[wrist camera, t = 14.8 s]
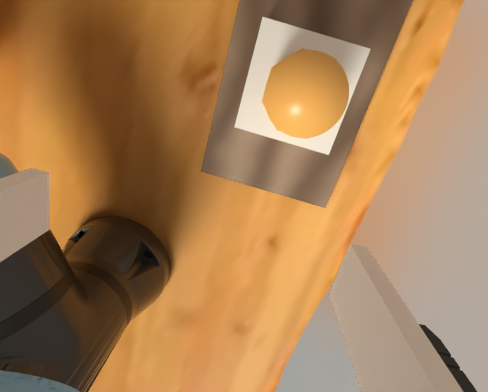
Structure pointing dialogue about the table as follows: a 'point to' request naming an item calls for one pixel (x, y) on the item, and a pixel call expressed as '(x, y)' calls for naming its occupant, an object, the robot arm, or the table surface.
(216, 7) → the table surface
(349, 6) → the mounting board
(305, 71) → the orange acorn nut
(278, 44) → the box
